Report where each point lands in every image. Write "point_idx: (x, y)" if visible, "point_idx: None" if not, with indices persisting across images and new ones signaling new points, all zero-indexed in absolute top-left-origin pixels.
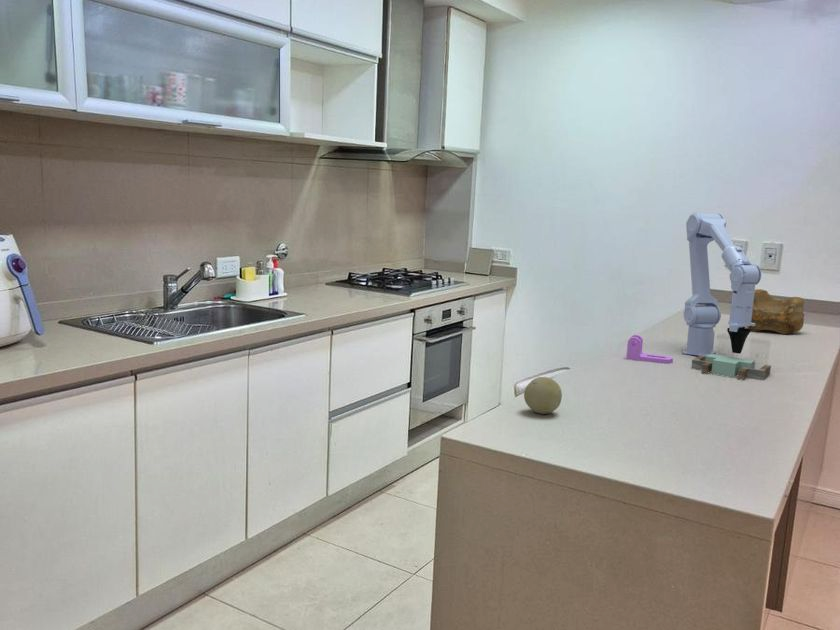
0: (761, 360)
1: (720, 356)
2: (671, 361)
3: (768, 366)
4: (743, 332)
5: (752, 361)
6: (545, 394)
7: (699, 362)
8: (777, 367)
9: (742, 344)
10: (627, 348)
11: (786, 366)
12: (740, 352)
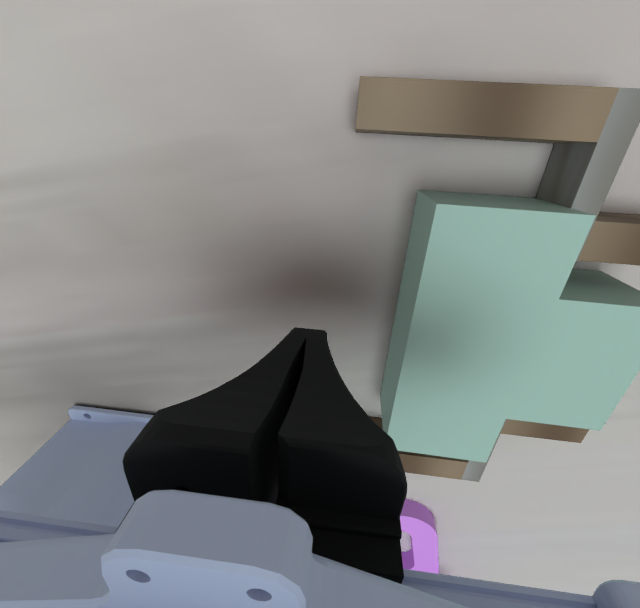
0: (2, 211)
1: (435, 407)
2: (412, 507)
3: (411, 88)
4: (405, 485)
5: (499, 215)
6: None
7: None
8: (95, 83)
9: (331, 364)
10: None
11: (2, 27)
12: (315, 331)
